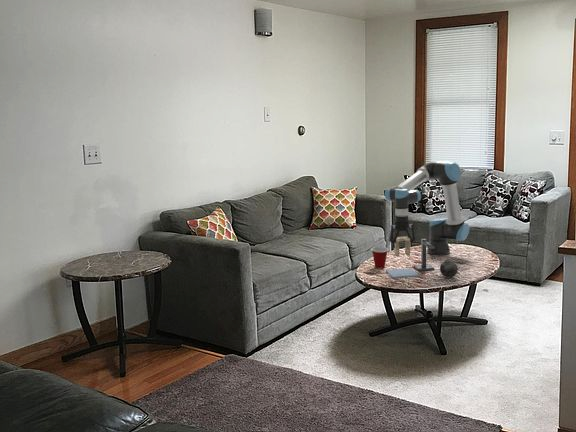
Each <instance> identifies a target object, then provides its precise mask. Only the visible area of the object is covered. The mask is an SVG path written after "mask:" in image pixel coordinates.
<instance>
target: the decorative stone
mask: <svg viewBox="0 0 576 432" xmlns="http://www.w3.org/2000/svg"><path fill="white" fill-rule="evenodd" d="M439 267H440V268H439V271H440V273H441V275H442V276H443V277H445V278H454V277H455V276H456V275H457V273H458V265H457V263H455V261H453V260H445V261H443V262H442V263H441V264H440V266H439Z"/></svg>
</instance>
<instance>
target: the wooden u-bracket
mask: <svg viewBox="0 0 576 432" xmlns="http://www.w3.org/2000/svg"><path fill="white" fill-rule="evenodd" d="M400 242H404V253H405V255H406V256H411V253H410V238H408V237H407V236H397V238H396V241H395V243H396V254H395V253H394V255H395V256H396V257H400Z"/></svg>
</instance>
